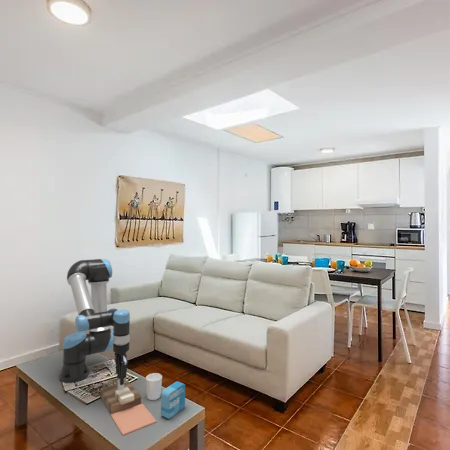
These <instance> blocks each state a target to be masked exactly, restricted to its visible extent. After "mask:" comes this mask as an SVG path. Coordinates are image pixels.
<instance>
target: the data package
mask: <svg viewBox="0 0 450 450" xmlns="http://www.w3.org/2000/svg"><path fill="white" fill-rule="evenodd" d="M185 405H186V384H185V383H183V382H180V381H175V382H174V383H172V384H170V385H169V386H167V387H166V388H164V389H162V390H161V396H160V415H161V416H162V417H163V418H165V419H168V420H169V419H171V418H173V417H174V416H175V415H177V414H178V413H179V412H181V411H182V410H183V409H184V408H185V407H186V406H185Z"/></svg>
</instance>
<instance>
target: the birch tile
mask: <svg viewBox="0 0 450 450" xmlns="http://www.w3.org/2000/svg"><path fill="white" fill-rule="evenodd" d="M115 396H116V398H117V399H118V401H119V402H120V403H121V405H123V404H125V403H128V402H131V401H134V394H133V393H132V392H131V391H130V389H129V388H128V387H125V388H122V389H119V390H116V391H115Z"/></svg>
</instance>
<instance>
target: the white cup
mask: <svg viewBox="0 0 450 450" xmlns="http://www.w3.org/2000/svg"><path fill="white" fill-rule="evenodd" d="M162 380H163V375H162V374H161V373H159V372H155V373H154V372H153V373H149V374H148V375H146V376H145V385H146V386H145V387H146V388H145V389H146V390H145V391H146V397H147V400H151V401H156V400H158V399H161V393H162V383H163V381H162Z"/></svg>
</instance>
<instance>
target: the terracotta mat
mask: <svg viewBox="0 0 450 450" xmlns="http://www.w3.org/2000/svg"><path fill="white" fill-rule="evenodd" d="M110 417H111V418H112V420H113V422H114V423H115V425H116V426H117V428H118V430H119V431H120V433H121V435H122V436H125V435H128V434H131V433H133V432H137V431H138V430H141V429H143V428H146V427H149V426H152V425H153V424H156V423H157V419H156V418H155V417H154V416H153V414H152V413H151V412H150V411H149V410H148V408H146V406H145V405H144V403H141V404H139V405H137V406H134V407H131V408H128V409H125V410H122V411H120V412H117V413H114V414H111V413H110Z"/></svg>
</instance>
